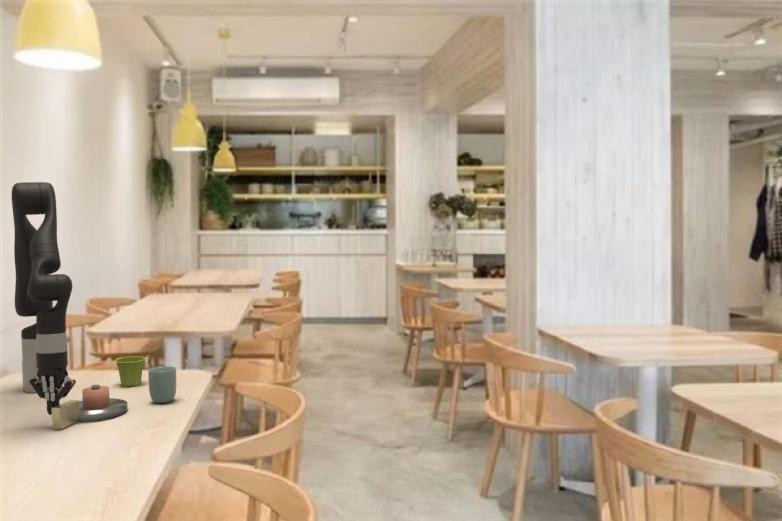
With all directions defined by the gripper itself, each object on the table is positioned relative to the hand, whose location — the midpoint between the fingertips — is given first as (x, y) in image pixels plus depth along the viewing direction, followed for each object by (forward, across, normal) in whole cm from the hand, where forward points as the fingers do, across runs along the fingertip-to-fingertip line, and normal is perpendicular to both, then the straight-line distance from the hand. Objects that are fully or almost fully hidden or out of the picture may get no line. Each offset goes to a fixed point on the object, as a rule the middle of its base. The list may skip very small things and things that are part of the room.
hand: (53, 414), depth 187 cm
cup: (+3, +16, +28) cm, 32 cm away
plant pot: (+3, -6, +46) cm, 46 cm away
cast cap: (+1, +4, +13) cm, 13 cm away
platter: (+3, +3, +9) cm, 10 cm away
